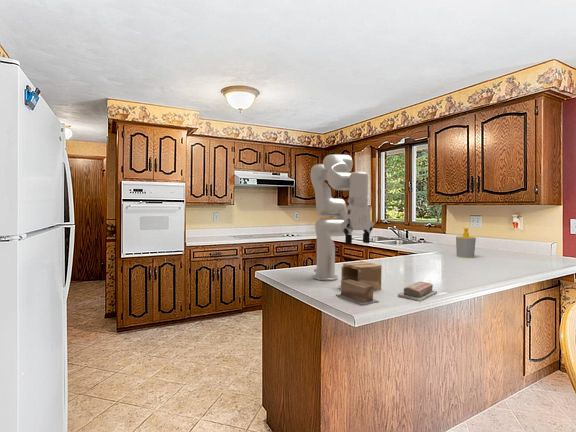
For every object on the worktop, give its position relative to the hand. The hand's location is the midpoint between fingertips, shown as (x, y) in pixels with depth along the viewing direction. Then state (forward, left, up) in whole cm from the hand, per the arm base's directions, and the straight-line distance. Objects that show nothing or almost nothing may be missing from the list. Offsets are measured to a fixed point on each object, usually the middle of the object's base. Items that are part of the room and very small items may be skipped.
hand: (357, 243), depth 144 cm
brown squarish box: (-12, +13, -23) cm, 29 cm away
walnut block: (0, 0, -23) cm, 23 cm away
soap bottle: (-43, +146, -23) cm, 154 cm away
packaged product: (+9, +27, -24) cm, 37 cm away
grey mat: (0, 0, -23) cm, 23 cm away
